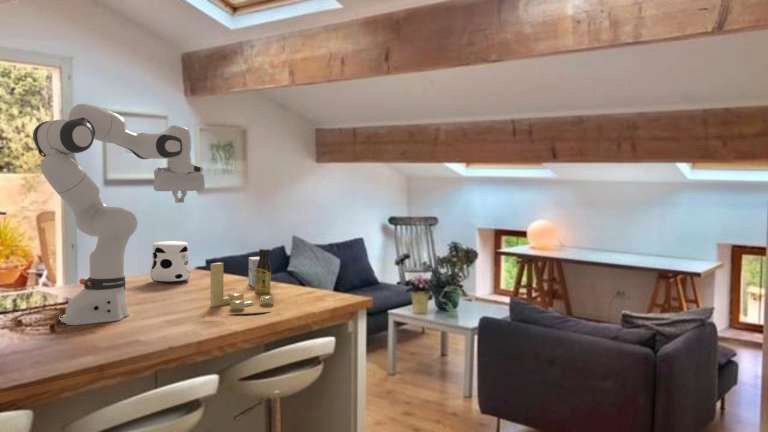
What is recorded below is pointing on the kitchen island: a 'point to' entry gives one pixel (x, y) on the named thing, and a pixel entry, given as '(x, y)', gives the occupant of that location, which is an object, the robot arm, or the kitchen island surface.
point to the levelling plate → (239, 305)
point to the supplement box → (252, 270)
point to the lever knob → (220, 287)
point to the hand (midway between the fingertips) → (179, 202)
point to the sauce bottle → (263, 273)
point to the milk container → (170, 262)
